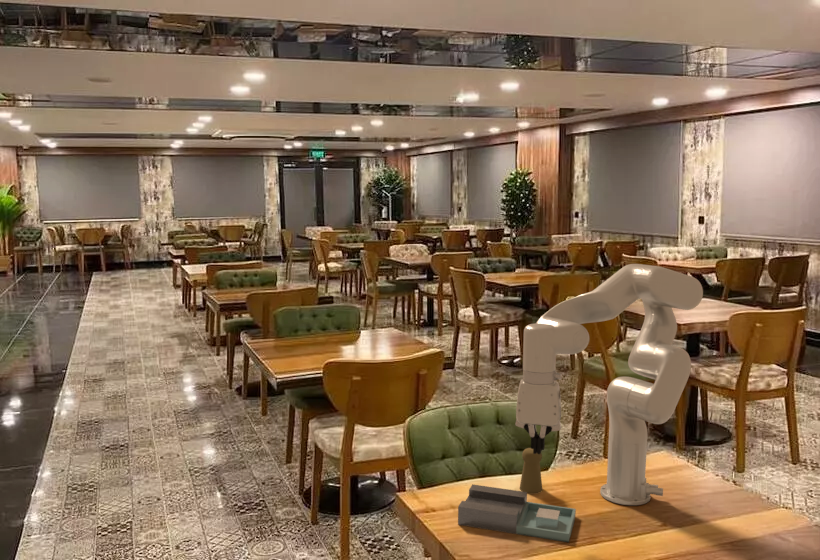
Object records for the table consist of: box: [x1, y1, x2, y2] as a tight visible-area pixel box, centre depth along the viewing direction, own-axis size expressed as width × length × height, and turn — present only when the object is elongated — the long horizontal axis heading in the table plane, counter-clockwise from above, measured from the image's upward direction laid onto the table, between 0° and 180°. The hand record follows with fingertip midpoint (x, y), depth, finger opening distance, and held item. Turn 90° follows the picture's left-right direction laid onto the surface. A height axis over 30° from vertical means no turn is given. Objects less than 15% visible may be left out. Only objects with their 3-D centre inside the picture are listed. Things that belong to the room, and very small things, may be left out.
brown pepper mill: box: [519, 447, 543, 495], centre depth 194 cm, size 6×6×11 cm
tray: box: [515, 501, 577, 543], centre depth 173 cm, size 12×14×2 cm
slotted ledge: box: [457, 484, 528, 535], centre depth 177 cm, size 14×14×4 cm
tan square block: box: [536, 508, 560, 530], centre depth 173 cm, size 5×5×2 cm
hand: (537, 451), depth 172 cm, fingers closed
